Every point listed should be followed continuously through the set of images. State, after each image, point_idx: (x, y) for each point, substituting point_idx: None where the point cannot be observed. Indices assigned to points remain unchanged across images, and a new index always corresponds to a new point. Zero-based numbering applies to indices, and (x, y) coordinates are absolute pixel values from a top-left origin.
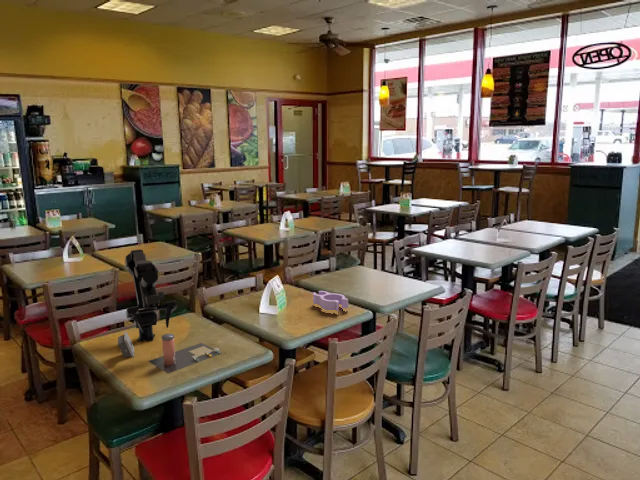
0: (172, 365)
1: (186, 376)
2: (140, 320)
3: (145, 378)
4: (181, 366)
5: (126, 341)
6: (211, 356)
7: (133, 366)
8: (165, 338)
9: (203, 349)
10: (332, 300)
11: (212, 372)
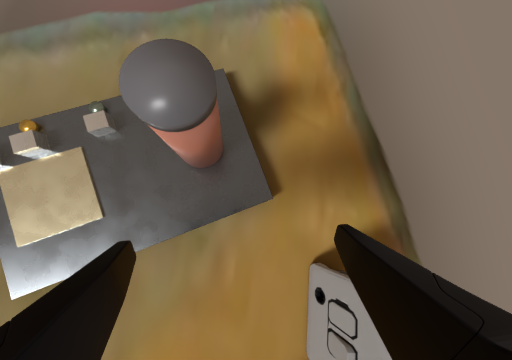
0: None
1: None
2: (451, 304)
3: (288, 103)
4: None
5: None
6: (28, 122)
7: (317, 208)
8: (195, 49)
9: (32, 207)
10: None
11: (79, 38)
